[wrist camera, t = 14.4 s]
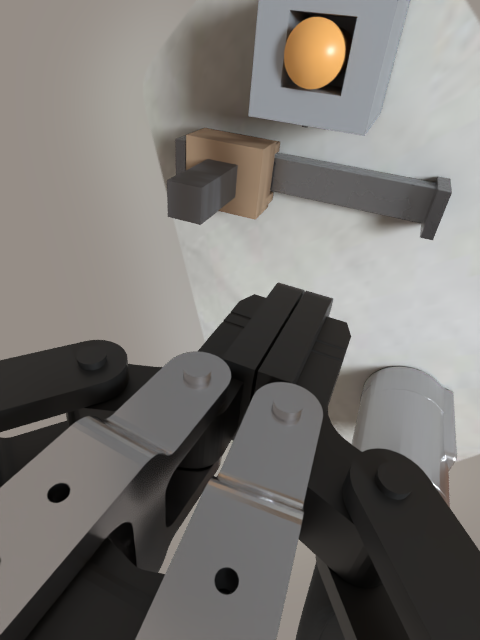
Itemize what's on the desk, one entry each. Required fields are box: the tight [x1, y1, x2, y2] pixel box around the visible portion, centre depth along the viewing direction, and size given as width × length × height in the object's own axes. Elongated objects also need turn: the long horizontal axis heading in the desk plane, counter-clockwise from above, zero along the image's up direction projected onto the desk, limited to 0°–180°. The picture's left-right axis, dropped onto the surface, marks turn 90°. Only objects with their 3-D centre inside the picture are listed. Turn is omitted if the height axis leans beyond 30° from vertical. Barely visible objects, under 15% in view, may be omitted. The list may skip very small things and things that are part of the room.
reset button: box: [284, 17, 352, 89], centre depth 26 cm, size 4×4×6 cm
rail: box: [176, 135, 452, 240], centre depth 37 cm, size 24×4×4 cm, turn 85°
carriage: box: [167, 128, 280, 225], centre depth 35 cm, size 7×6×12 cm
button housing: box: [248, 0, 410, 136], centre depth 29 cm, size 8×9×10 cm
